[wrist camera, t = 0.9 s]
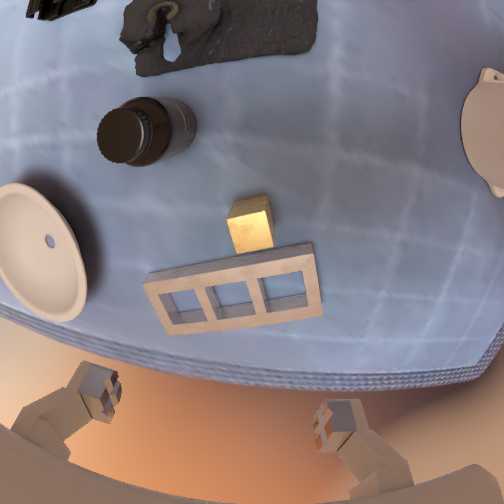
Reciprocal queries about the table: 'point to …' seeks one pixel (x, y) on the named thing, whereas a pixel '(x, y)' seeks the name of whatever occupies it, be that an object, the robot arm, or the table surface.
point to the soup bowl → (40, 255)
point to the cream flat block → (229, 272)
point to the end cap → (56, 8)
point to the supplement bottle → (145, 131)
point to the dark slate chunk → (216, 30)
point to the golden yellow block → (251, 224)
